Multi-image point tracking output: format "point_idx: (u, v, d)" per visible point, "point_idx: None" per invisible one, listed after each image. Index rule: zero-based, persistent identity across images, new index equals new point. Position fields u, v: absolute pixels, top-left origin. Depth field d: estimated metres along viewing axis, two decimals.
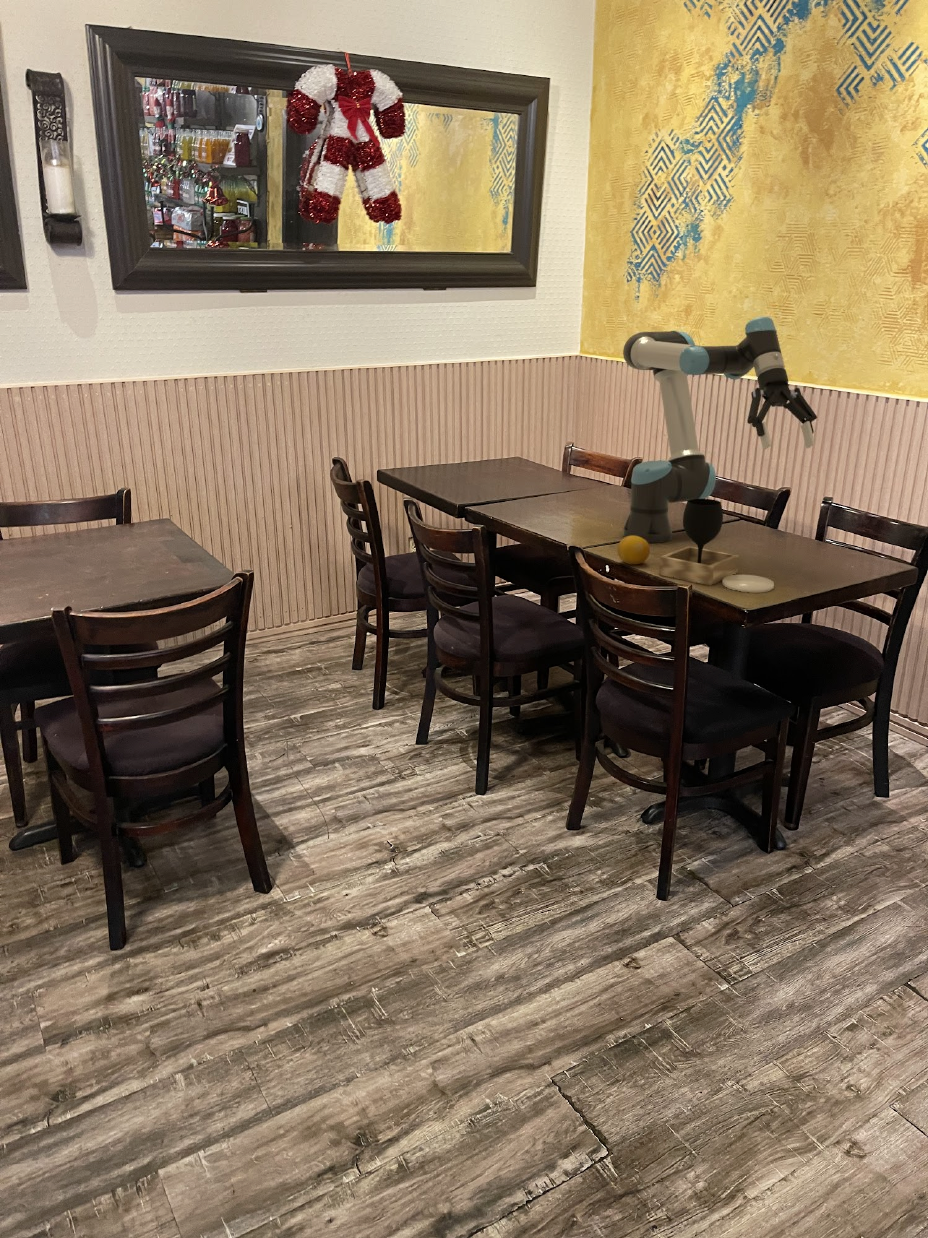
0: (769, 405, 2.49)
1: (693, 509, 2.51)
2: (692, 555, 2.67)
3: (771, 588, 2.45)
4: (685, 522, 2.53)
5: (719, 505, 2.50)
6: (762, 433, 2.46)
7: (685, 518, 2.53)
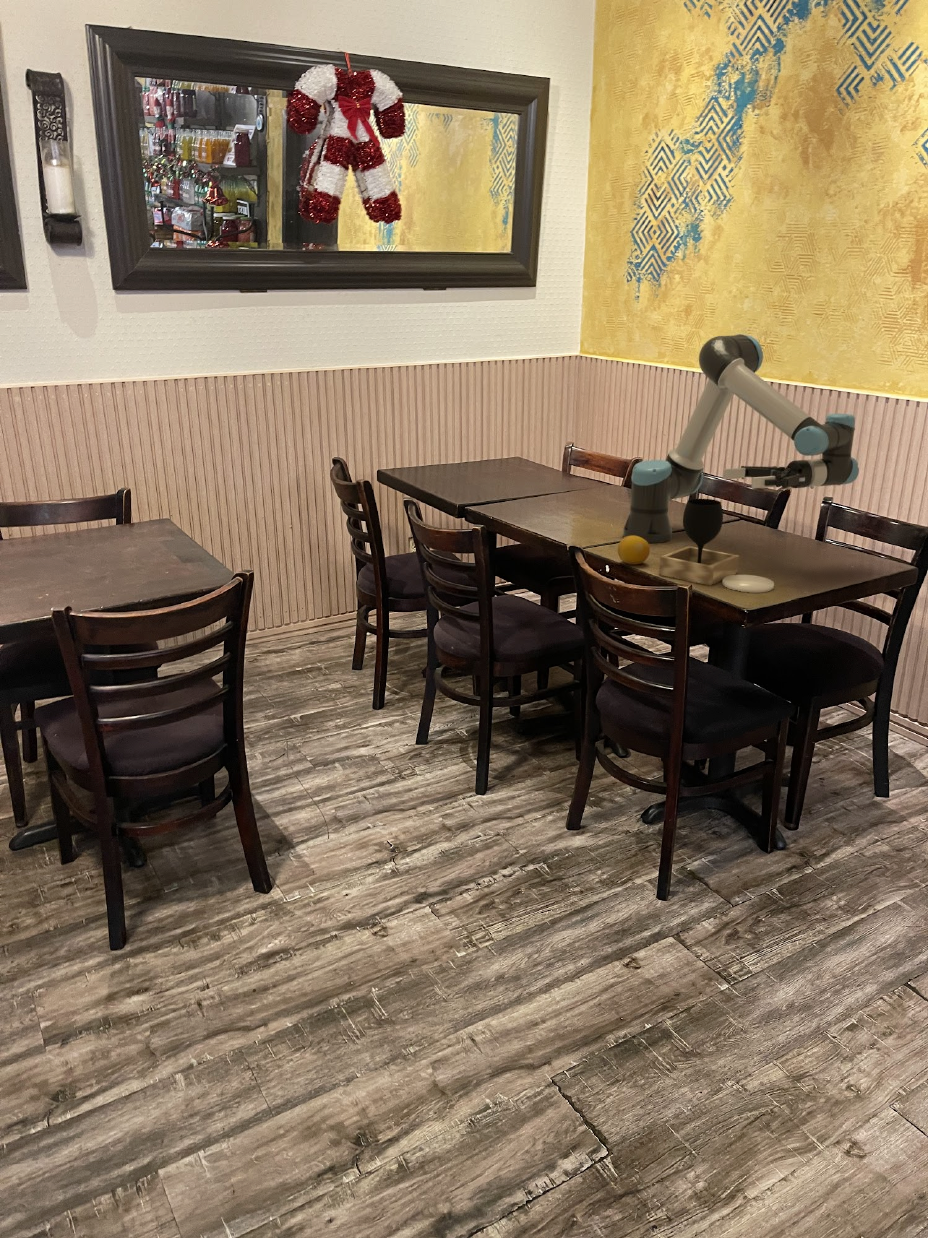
0: None
1: (693, 509, 2.51)
2: (692, 555, 2.67)
3: (771, 588, 2.45)
4: (685, 522, 2.53)
5: (719, 505, 2.50)
6: None
7: (685, 518, 2.53)
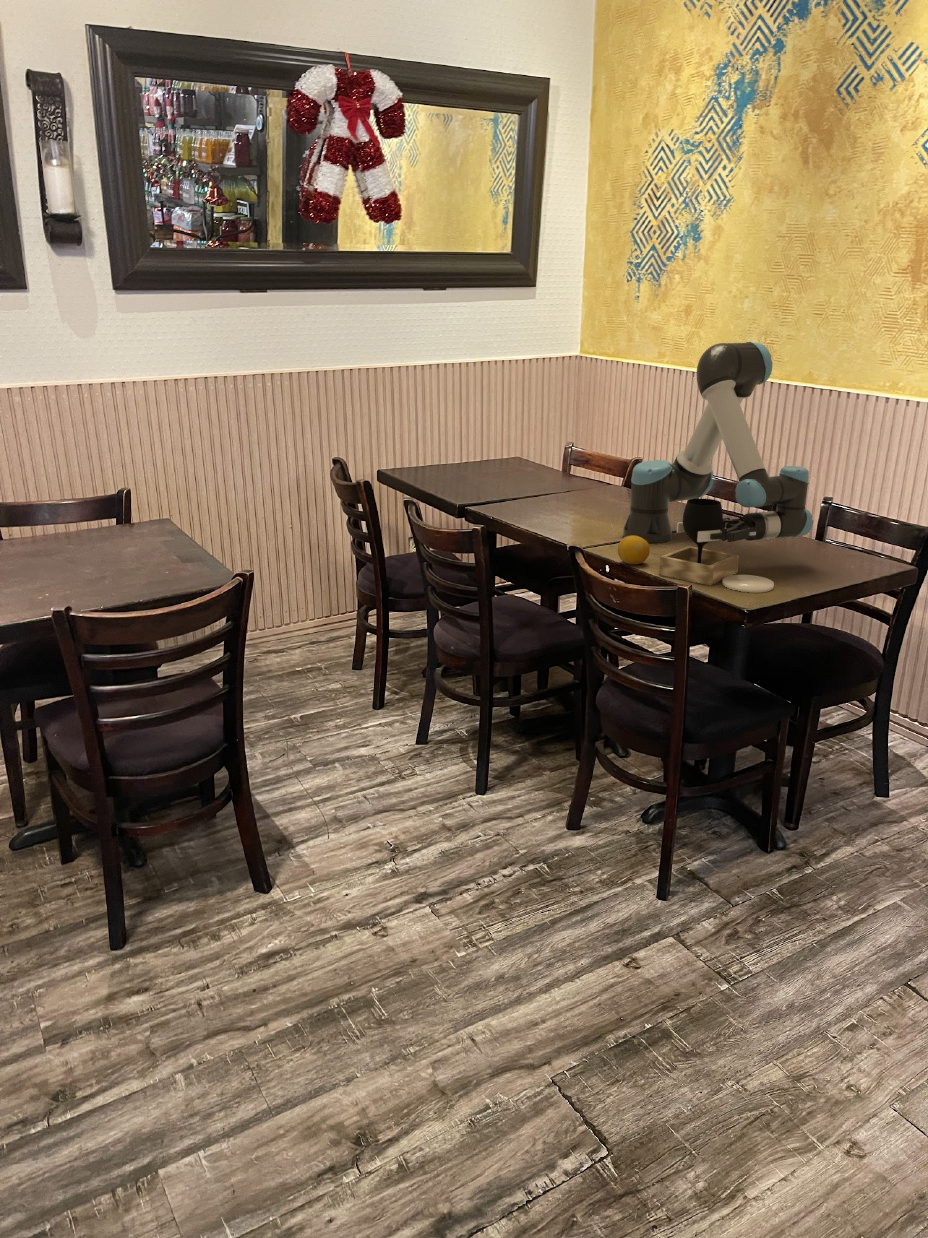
0: None
1: (693, 509, 2.50)
2: (692, 555, 2.67)
3: (771, 588, 2.45)
4: (685, 522, 2.53)
5: (719, 505, 2.50)
6: (712, 539, 2.50)
7: (685, 518, 2.53)
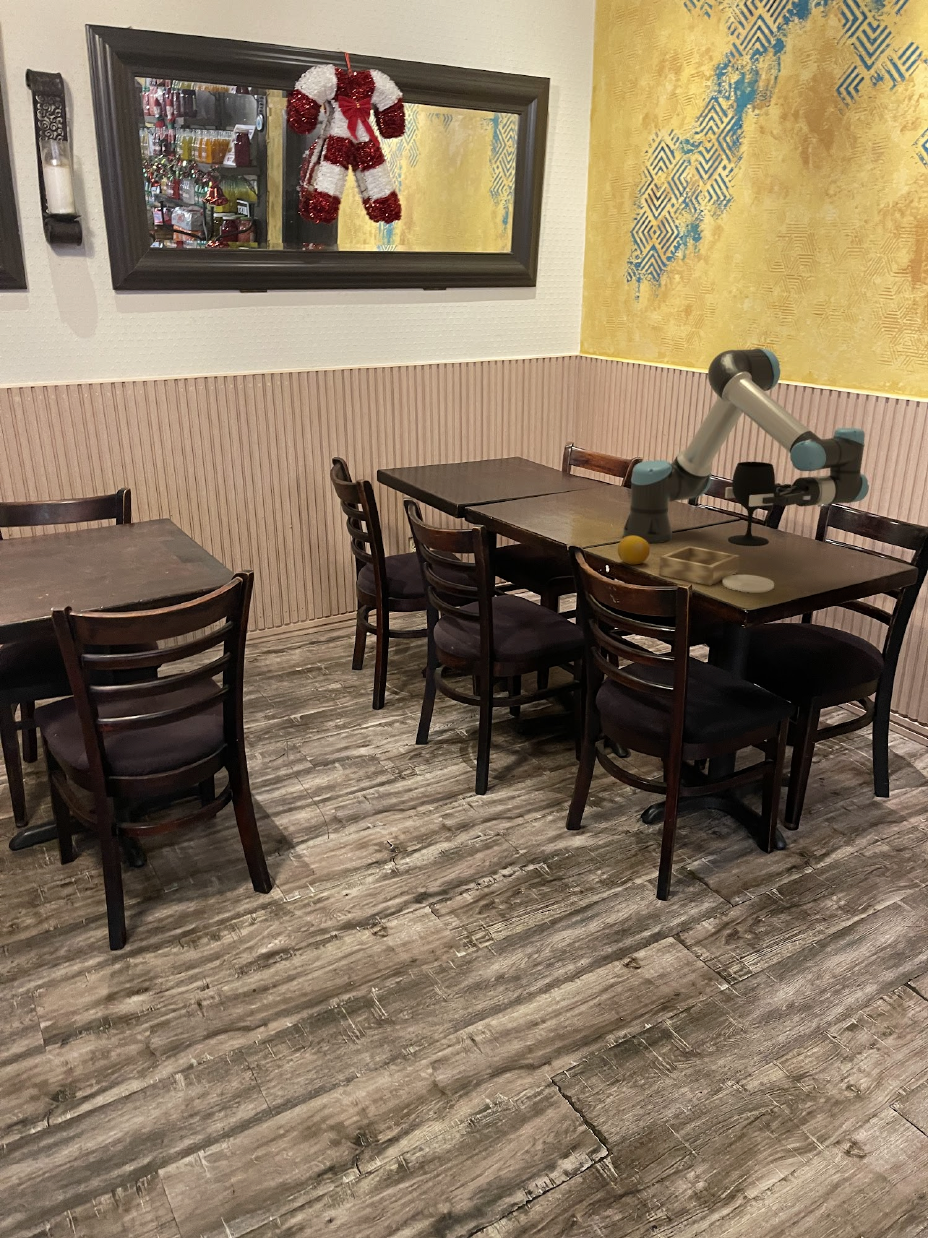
0: None
1: (744, 472, 2.37)
2: (692, 555, 2.67)
3: (771, 588, 2.45)
4: (735, 486, 2.40)
5: (771, 467, 2.37)
6: None
7: (735, 482, 2.40)
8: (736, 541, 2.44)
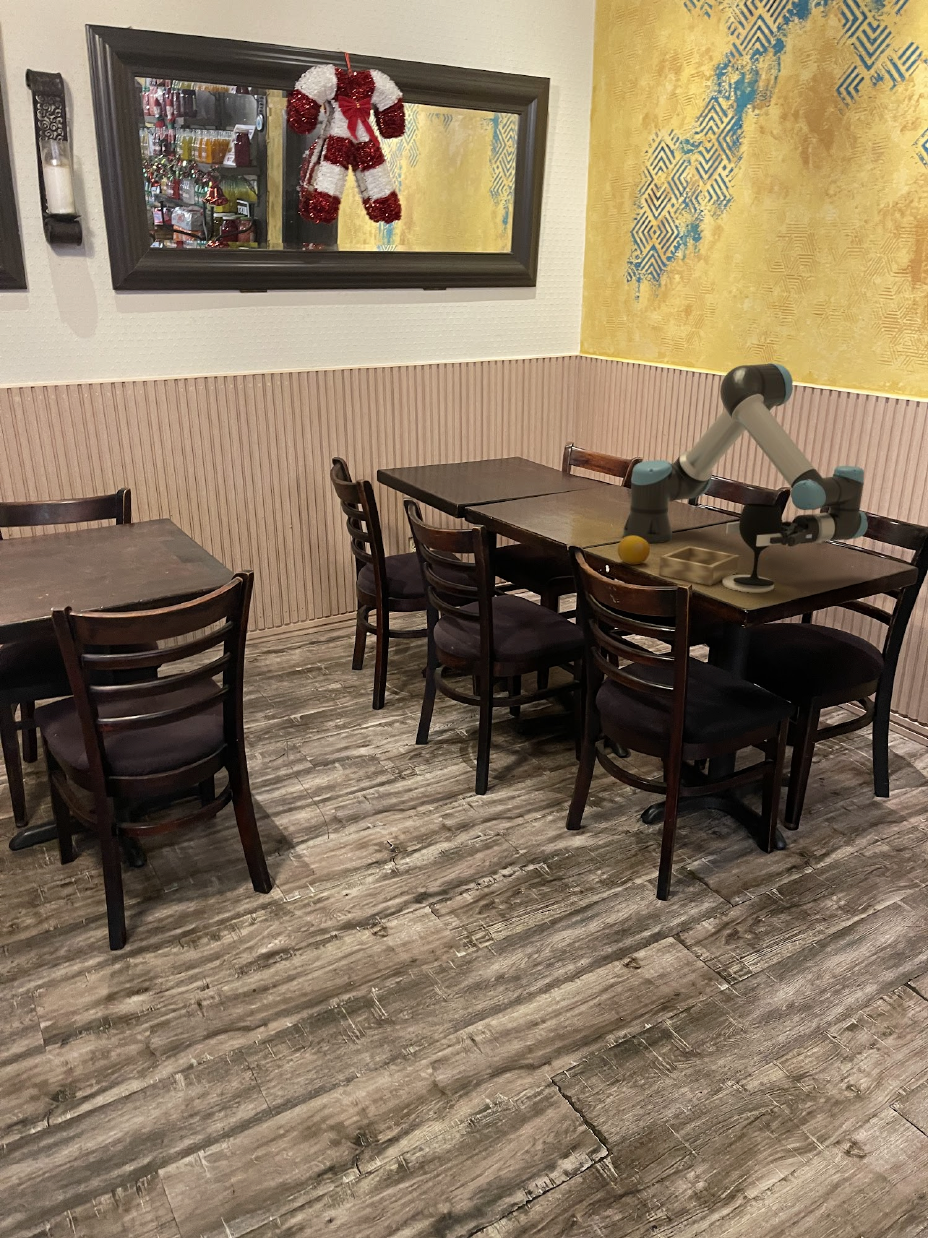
0: None
1: (751, 511, 2.39)
2: (692, 555, 2.67)
3: (771, 588, 2.45)
4: (742, 525, 2.42)
5: (779, 508, 2.39)
6: (771, 543, 2.38)
7: (742, 521, 2.42)
8: (742, 581, 2.44)
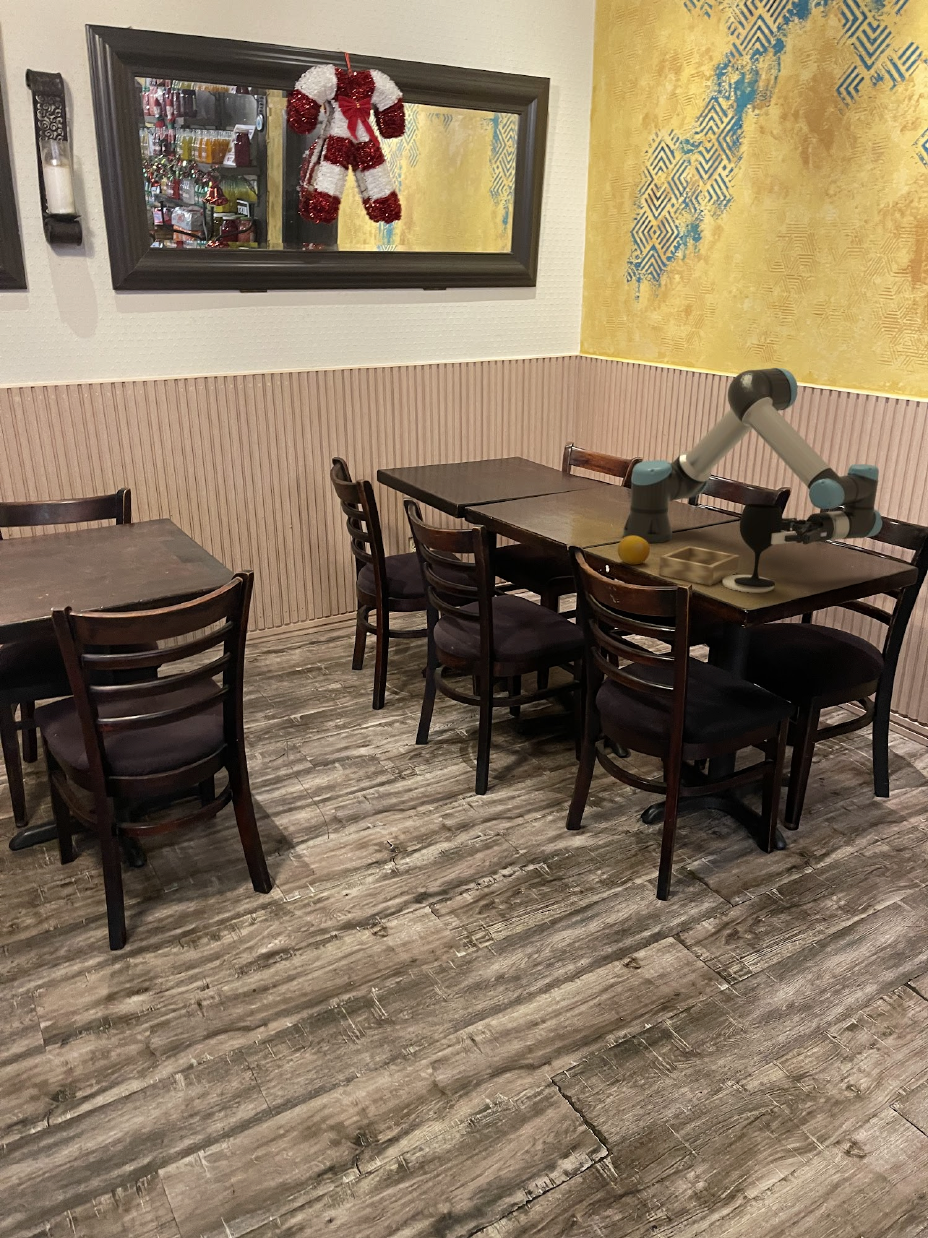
0: None
1: (753, 512, 2.39)
2: (692, 555, 2.67)
3: (771, 588, 2.45)
4: (743, 526, 2.41)
5: (779, 509, 2.39)
6: None
7: (743, 522, 2.41)
8: (743, 582, 2.44)
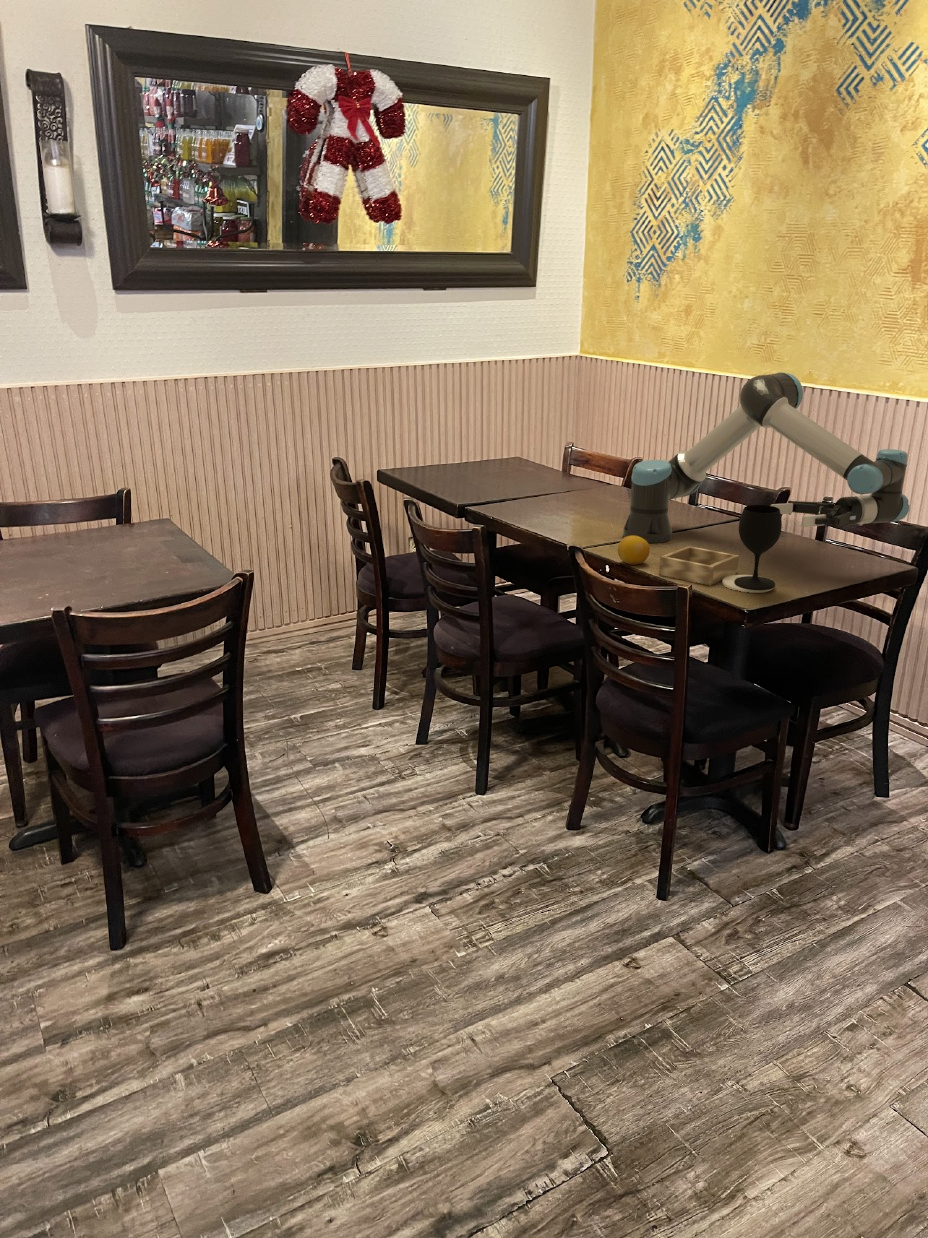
0: None
1: (752, 517, 2.37)
2: (692, 555, 2.67)
3: None
4: (742, 531, 2.40)
5: (779, 512, 2.37)
6: (816, 523, 2.42)
7: (742, 527, 2.39)
8: (744, 585, 2.44)
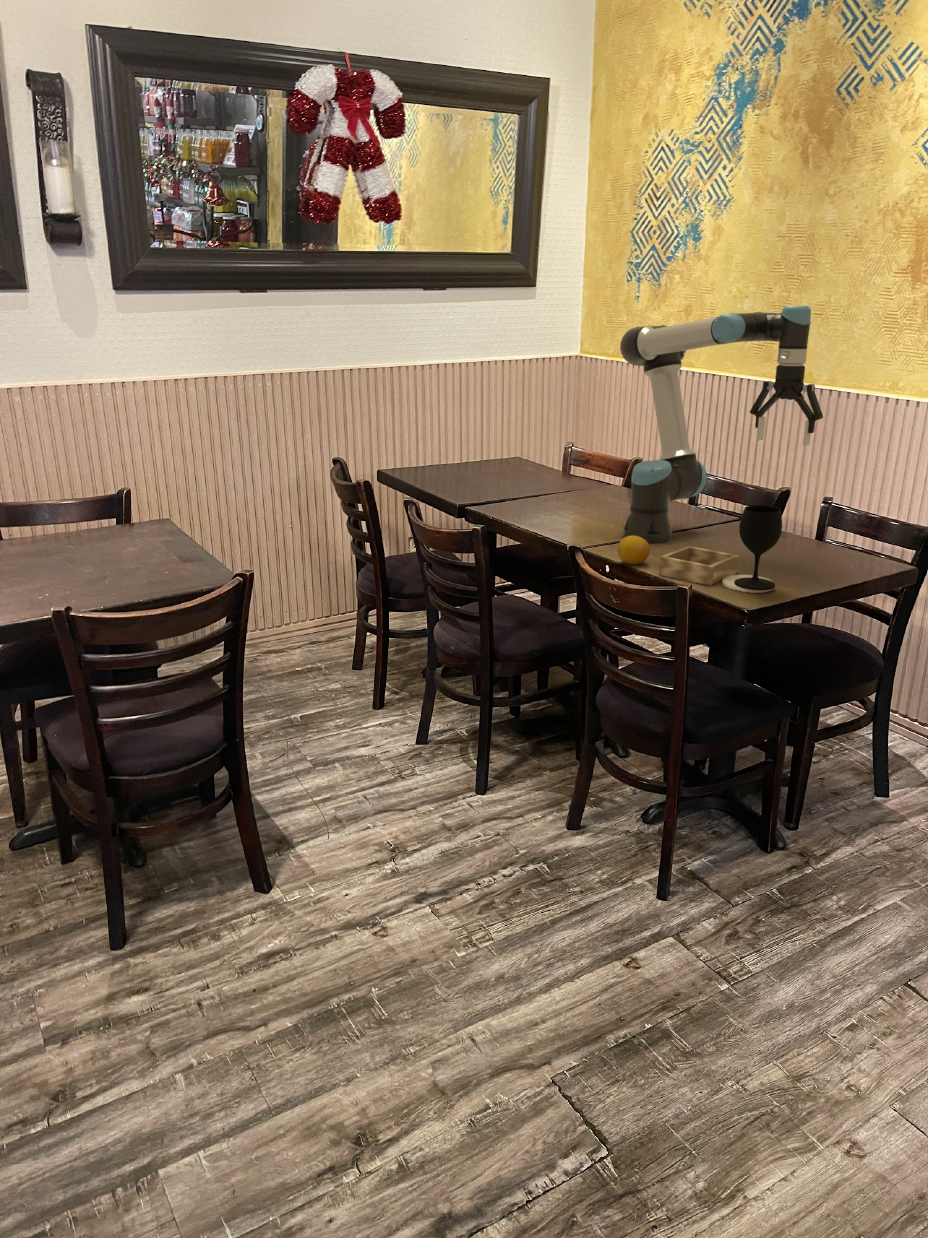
0: (771, 401, 2.66)
1: (752, 517, 2.37)
2: (692, 555, 2.67)
3: None
4: (743, 531, 2.40)
5: (779, 512, 2.38)
6: (756, 427, 2.71)
7: (743, 526, 2.40)
8: (744, 585, 2.44)
